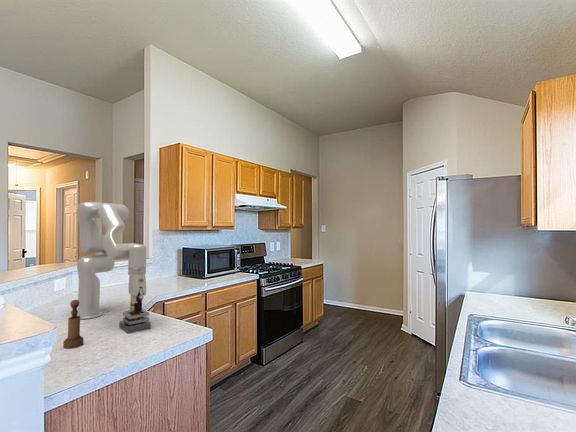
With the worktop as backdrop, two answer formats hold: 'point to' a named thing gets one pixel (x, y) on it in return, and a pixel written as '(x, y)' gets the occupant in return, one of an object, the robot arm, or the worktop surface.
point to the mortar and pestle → (73, 328)
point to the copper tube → (133, 307)
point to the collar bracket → (135, 322)
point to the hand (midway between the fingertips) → (136, 310)
